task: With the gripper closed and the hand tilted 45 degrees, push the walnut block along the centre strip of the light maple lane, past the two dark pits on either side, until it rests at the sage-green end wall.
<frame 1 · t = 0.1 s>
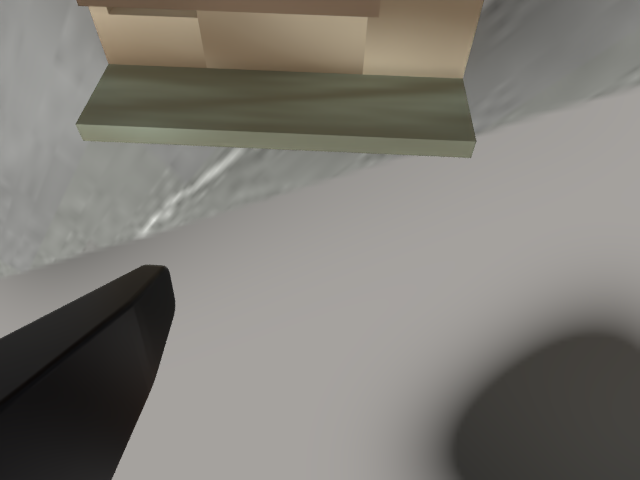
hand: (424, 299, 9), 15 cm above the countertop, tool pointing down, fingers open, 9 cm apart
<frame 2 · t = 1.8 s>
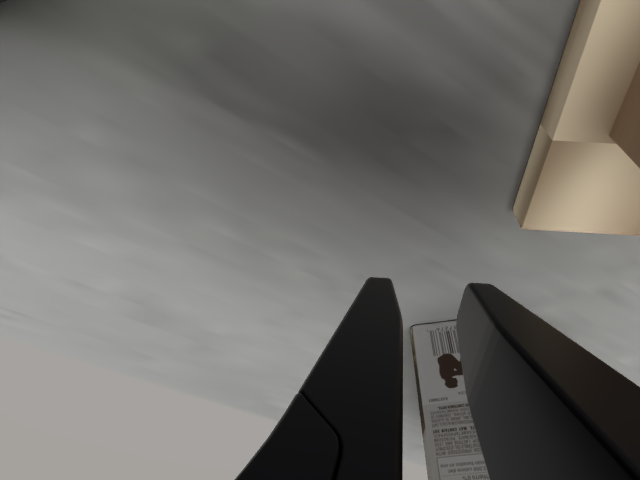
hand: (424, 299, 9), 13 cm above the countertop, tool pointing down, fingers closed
coffee box: (469, 366, 30), on the countertop
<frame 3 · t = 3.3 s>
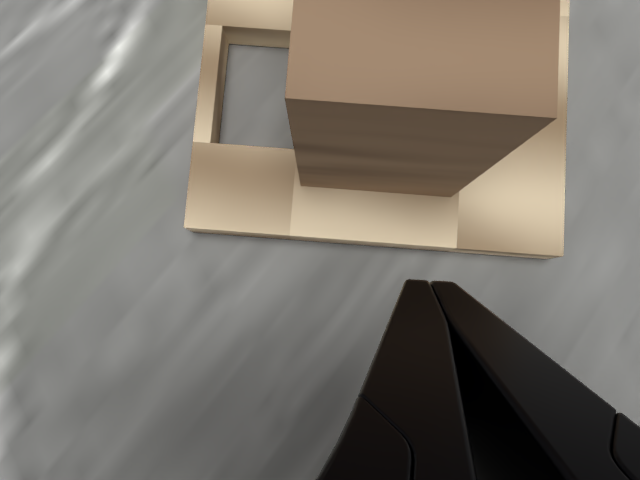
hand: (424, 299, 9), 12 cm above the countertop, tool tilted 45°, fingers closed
walnut block: (381, 95, 20), point 1 cm above the countertop, touching trap lane
trap lane: (382, 44, 22), on the countertop
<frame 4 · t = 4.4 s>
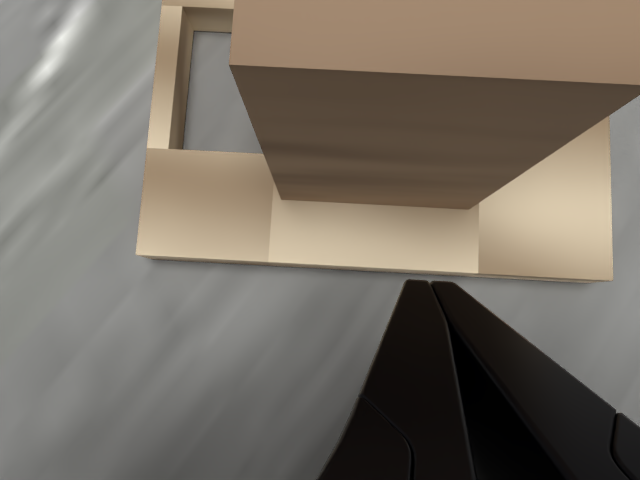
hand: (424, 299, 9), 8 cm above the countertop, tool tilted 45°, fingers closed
walnut block: (379, 85, 17), point 1 cm above the countertop, touching trap lane
trap lane: (378, 26, 18), on the countertop
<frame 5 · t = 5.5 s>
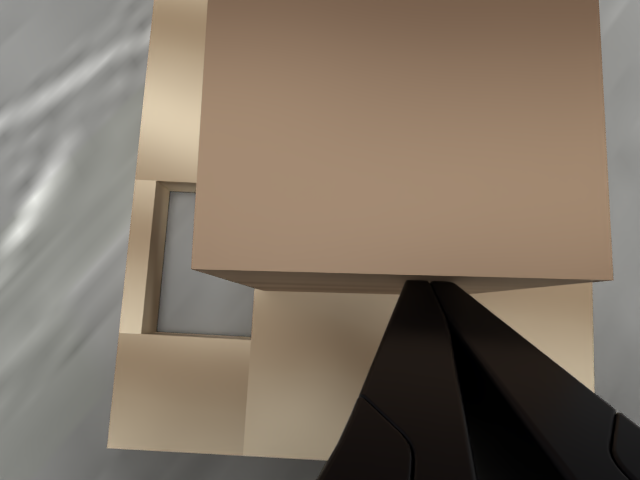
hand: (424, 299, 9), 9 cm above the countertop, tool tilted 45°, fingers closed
walnut block: (359, 172, 17), point 1 cm above the countertop, touching gripper, trap lane
trap lane: (359, 187, 18), on the countertop
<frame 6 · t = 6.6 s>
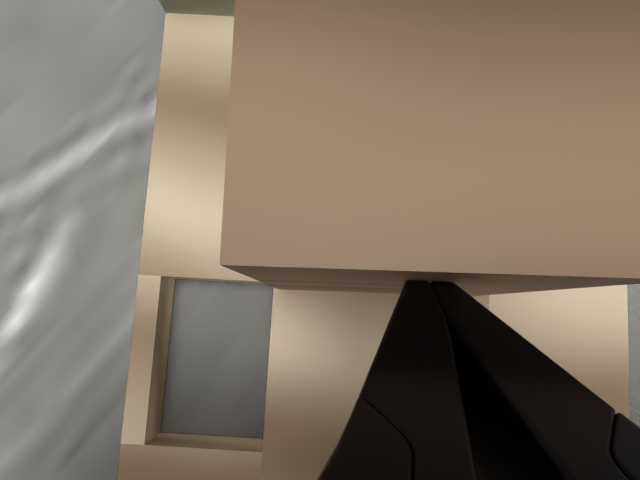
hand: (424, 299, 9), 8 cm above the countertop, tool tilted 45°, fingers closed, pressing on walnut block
walnut block: (379, 166, 16), point 1 cm above the countertop, touching gripper, trap lane
trap lane: (376, 275, 17), on the countertop
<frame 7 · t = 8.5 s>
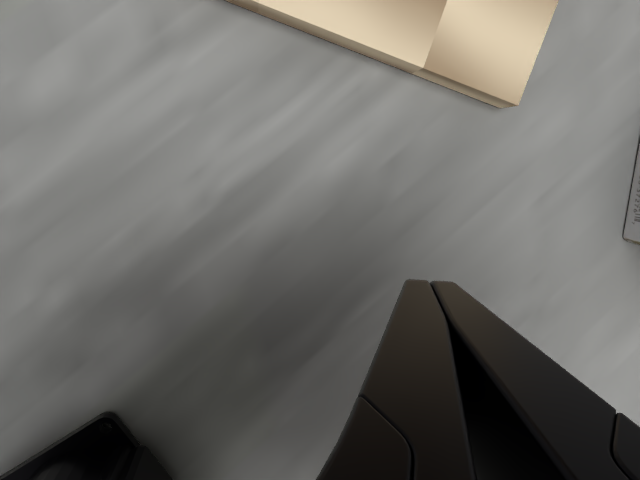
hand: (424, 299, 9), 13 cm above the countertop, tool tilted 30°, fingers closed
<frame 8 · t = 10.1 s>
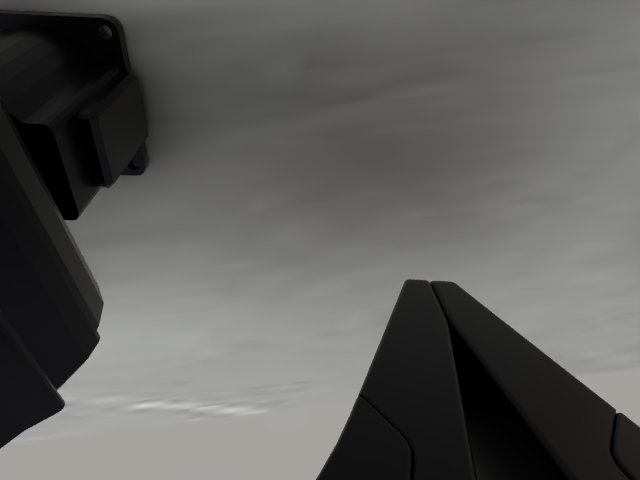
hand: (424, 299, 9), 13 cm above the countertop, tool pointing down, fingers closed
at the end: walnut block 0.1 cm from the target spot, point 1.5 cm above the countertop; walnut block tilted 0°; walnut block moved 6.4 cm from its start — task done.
